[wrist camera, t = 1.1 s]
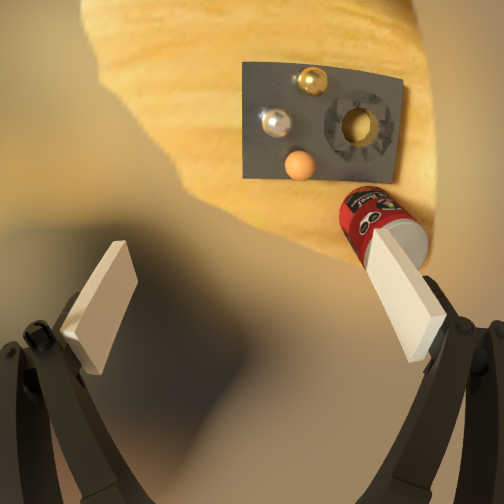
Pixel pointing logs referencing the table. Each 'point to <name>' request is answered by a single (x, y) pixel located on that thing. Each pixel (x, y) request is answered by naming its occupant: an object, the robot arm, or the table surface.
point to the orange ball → (300, 165)
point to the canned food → (381, 224)
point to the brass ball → (313, 82)
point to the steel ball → (277, 122)
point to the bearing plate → (320, 122)
